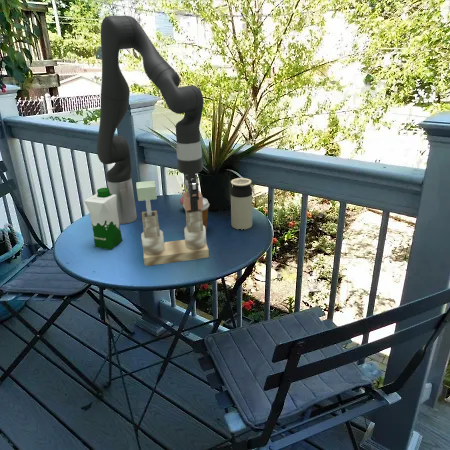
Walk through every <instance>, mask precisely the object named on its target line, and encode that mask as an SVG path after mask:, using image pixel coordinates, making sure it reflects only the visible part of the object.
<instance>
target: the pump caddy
mask: <svg viewBox="0 0 450 450" xmlns="http://www.w3.org/2000/svg"><path fill="white" fill-rule="evenodd" d="M157 210H158V209H157ZM157 210H151V212H152V216H147V211H142V212H141V219H142V228H143V232H141V234H140V239H141V244H142V250H143V251H142V252H143V263H144V267H149V266H156V265H162V264H163V265H165V264H171V263H178V262H184V261H186V262H187V261H193V260H198V259H199V260H200V259H207V258H210V252H209V246H208V244H207V229H205V226H204V225H203V220H202V210H201V209H198V211H191V210H187V211H186V210H185V209H184V212H185V221H186V222H185V223H186V224H185V225H186V226H185V227H184V229H183V232H184V239H180V240H171V241H170V240H169V241H165V238H164V232H163V230H161V229H160V225H159V216H158V211H157Z"/></svg>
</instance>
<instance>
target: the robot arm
mask: <svg viewBox="0 0 450 450" xmlns="http://www.w3.org/2000/svg"><path fill="white" fill-rule="evenodd" d="M100 45H101V46H100V47H101V49H100V51H101V85H100V87H101V88H100V112H99V113H100V116H99V127H98V134H97V141H96V153H97V159H99V162H101V164H103V165H111V164H114V165H113V166H112V167H111V168H109V170H108V171H107V172H106V174H105V176H106V177H105V178H106V183H107V188H109V191H110V194H115V195H116V197H117V213H118V219H119V225H125V224H131V223H134V222H135V221H137V219H138V216H137V215H138V214H137V209H136V201H135V196H134V194H135V193H134V188H133V187H134V186H133V181H132V161H131V160H132V159H131V150H130V145H129V142H128V141H127V139H126V138H125V136H123V135H116V136H115V133H116V131H117V129H118V127H119V126H120V124H121V122H122V121H123V119H124V118H125V116H126V114H127V113H128V110H129V104H130V95H131V94H130V92H131V91H130V86H129V84H128V82H127V80H126V78H125V75H123V73H122V71H121V69H120V62H119V61H120V60H119V55H120V50H129V49H133V50H135V51H136V52H138V54H139V55H140V56H141V57H142V64H143V69H144V72H145V74H146V76H147V77H148V79H149V80H150V81H151V82H152V83H153V85H155V87H156V88H158V90H159V92H160V94H161V96H162V98H163V100H164V102H165V104H166V106H167V108H168V109H169V110H170V111H171V112H172V113H174V114H178V115H181V114H183V118H181V120H179V121H178V122H176V124H175V137H176V159H177V169H178V172H179V173H181V174H182V175H184V176H183V177H184V178H183V180H184V185H185V186H186V190H187V192H188V193H189V196H190V198H189V199H190V204H191V211H198V200H199V191H200V189H199V177H198V175H197V174H198V173H201V172H202V171H203V151H202V150H203V149H202V145H201V135H200V131H201V130H200V125H201V120H202V116H203V115H202V114H203V109H204V95H203V93H202V91H201V89H200V88H199V87H198V86H196V85H187V86H180V84H181V77H180V75H179V74H178V73H177V71H176V70H175V69H174V68H173V67H172V66H171V65H170V64H169V63H168V62H167V61H166V60H165V59H164V58H163V56H162V55H161V54H160V52H159V51H158V49H157V48H156V47H155V45H154V44H153V42H152V40H151V39H150V37H149V36H148V33H146V31H145V30H144V29H143V27H142V26H141V24H140V23H139V22H138V20H137V19H136V18H135V17H133V16H131V15H108V16H107V15H106V16H105V17H104V18H103V19H102V21H101V24H100ZM179 86H180V87H179ZM193 194H196V196H192V195H193Z"/></svg>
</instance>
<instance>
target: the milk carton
mask: <svg viewBox="0 0 450 450" xmlns="http://www.w3.org/2000/svg"><path fill="white" fill-rule="evenodd" d="M84 203H85V206H86V208H87V210H88V212H89V217H90V223H91V227H92V233H93V241H94V248H99V249H102V250H103V249H104V250H110V251H112V250H114V249H115V248H116V246H117V247H118V245H119V244H120V243H122V242H123V236H122V231H121V227H120V225H121V224H119V219H118V213H117V197H116V195H115V194H110V191H109V188H108V187H101V188H99V189H97V191H96V193H95V194H93V195H92V196H90V197H88V198H87V199H85V200H84Z"/></svg>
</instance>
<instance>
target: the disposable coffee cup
mask: <svg viewBox="0 0 450 450" xmlns="http://www.w3.org/2000/svg"><path fill="white" fill-rule="evenodd" d="M182 207H183V208H184V210H185V207H184V205H182ZM209 207H210V203H209V201H208V199H207V198H205V197H203V209H201V210H202V220H203V225H204V226H205V229H206V230H207V228H208V227H207V226H208V217H209V215H208V214H209Z"/></svg>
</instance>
